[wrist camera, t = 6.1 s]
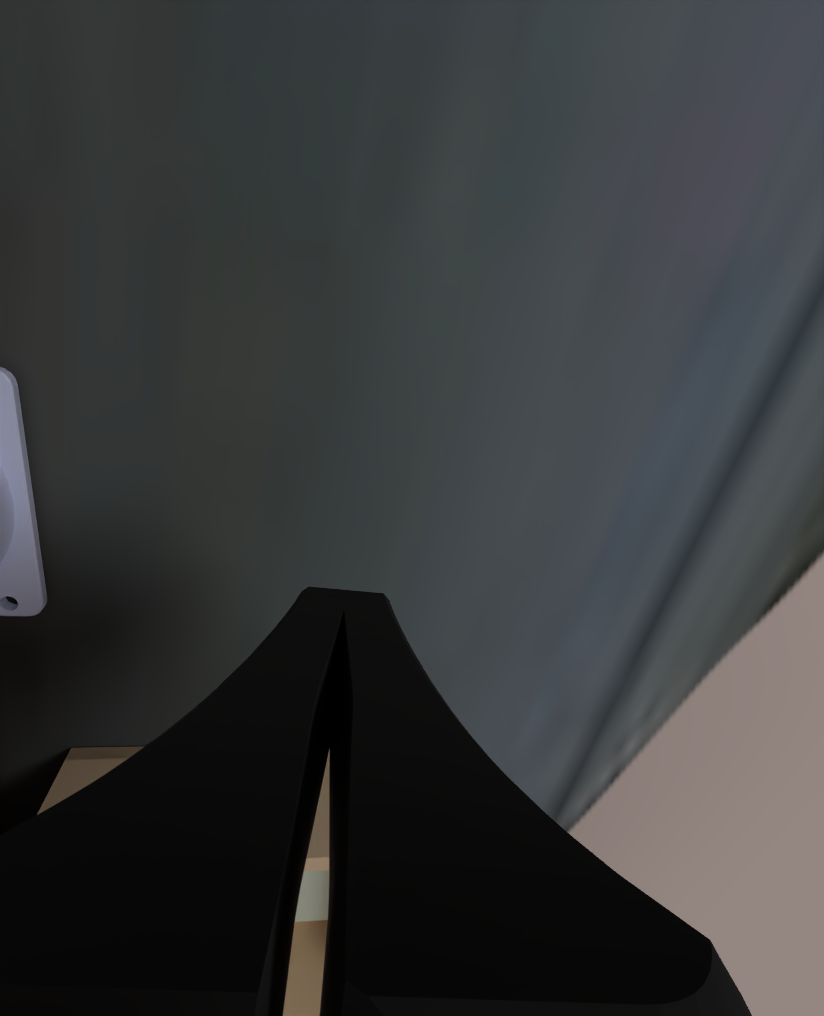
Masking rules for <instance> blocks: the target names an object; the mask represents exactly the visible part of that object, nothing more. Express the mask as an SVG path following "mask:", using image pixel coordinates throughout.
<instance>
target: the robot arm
mask: <svg viewBox="0 0 824 1016" xmlns="http://www.w3.org/2000/svg"><path fill="white" fill-rule="evenodd" d="M6 596H9V597H13V598H14V599H16V600H17V602H18V604H12V603H10V602H9V601H7V599H6ZM46 604H47V593H46V585H45V578H44V571H43V564H42V557H41V549H40V542H39V535H38V528H37V521H36V513H35V506H34V499H33V492H32V485H31V477H30V470H29V463H28V456H27V449H26V441H25V434H24V427H23V420H22V413H21V405H20V398H19V391H18V384H17V382H16V379H15V377H14V376H13V375H12V374H11V372H9V371H8V370H6V369H5V368H2V367H0V616H34V615H37V614H38V613H40V612H41V611H42V609H43V608H44V607H45V605H46ZM329 749H330V760H329V903H328V924H327V935H326V947H325V959H324V970H323V982H322V993H321V1005H320V1016H752V1015H751V1013H750V1011H749V1009H748V1007H747V1005H746V1003H745V1001H744V999H743V997H742V995H741V993H740V992H739V990H738V988H737V987H736V985H735V983H734V981H733V980H732V978H731V976H730V975H729V973H728V971H727V969H726V968H725V966H724V964H723V963H722V961H721V959H720V958H719V955H718V953H717V952H716V950H715V948H714V946H713V944H712V942H711V941H710V940H709V939H708V938H707V937H705V936H704V935H702V934H701V933H700V932H698V931H697V930H695V929H694V928H692V927H691V926H690V925H688V924H687V923H686V922H684V921H683V920H681V919H680V918H679V917H677V916H676V915H675V914H673V913H672V912H670V911H669V910H668V909H666V908H665V907H663V906H662V905H661V904H659V903H658V902H656V901H655V900H654V899H652V898H651V897H649V896H648V895H646V894H645V893H644V892H642V891H641V890H640V889H638V888H637V887H635V886H634V885H633V884H631V883H630V882H628V881H627V880H625V879H624V878H623V877H621V876H620V875H619V874H618V873H616V872H615V871H614V870H612V869H611V868H610V867H609V866H607V865H606V864H605V863H604V862H603V861H601V860H600V859H599V858H598V857H596V856H595V855H594V854H593V853H592V852H590V851H589V850H588V849H587V848H585V847H584V846H583V845H582V844H580V843H579V842H578V841H577V840H576V839H574V838H573V837H572V836H571V835H570V834H568V833H567V832H566V831H565V830H564V829H563V828H562V827H560V826H559V825H558V824H557V823H556V822H555V821H554V820H553V819H551V818H550V817H549V816H548V815H547V814H546V813H545V812H544V811H543V810H542V809H540V808H539V807H538V806H537V805H536V804H535V803H534V802H533V801H532V800H531V799H530V798H529V797H528V796H527V795H526V794H525V793H524V792H523V791H522V790H521V789H520V788H519V787H518V786H517V785H516V784H514V783H513V782H512V781H511V780H510V779H509V778H508V777H507V776H506V775H505V774H504V773H503V772H502V771H501V770H500V768H499V767H498V766H497V765H496V764H495V763H494V762H493V761H492V760H491V759H490V758H489V756H488V755H487V754H486V753H485V752H484V751H483V749H482V748H481V747H480V746H479V745H478V744H477V742H476V741H475V740H474V739H473V738H472V736H471V735H470V734H469V733H468V731H467V730H466V729H465V728H464V726H463V725H462V724H461V723H460V721H459V720H458V719H457V717H456V716H455V715H454V713H453V712H452V711H451V709H450V708H449V706H448V705H447V703H446V702H445V701H444V699H443V698H442V696H441V695H440V694H439V692H438V691H437V689H436V688H435V686H434V685H433V683H432V682H431V680H430V678H429V677H428V675H427V674H426V672H425V670H424V669H423V667H422V665H421V664H420V662H419V660H418V659H417V657H416V655H415V654H414V652H413V650H412V648H411V647H410V645H409V643H408V641H407V639H406V637H405V635H404V633H403V631H402V629H401V627H400V625H399V623H398V621H397V619H396V617H395V614H394V612H393V609H392V607H391V604H390V601H389V600H388V598H387V597H386V596H385V595H384V594H383V593H372V592H361V591H351V590H340V589H329V588H318V587H308V588H306V589H305V590H303V591H302V592H301V593H300V595H299V596H298V598H297V600H296V601H295V603H294V604H293V605H292V607H291V608H290V609H289V611H288V612H287V613H286V615H285V616H284V617H283V619H282V620H281V621H280V622H279V623H278V625H277V626H276V627H275V628H274V630H273V631H272V632H271V633H270V634H269V635H268V636H267V637H266V639H265V640H264V641H263V642H262V643H261V644H260V645H259V646H258V648H257V649H256V650H255V651H254V652H253V653H252V654H251V655H250V656H249V657H248V658H247V659H246V660H245V661H244V662H243V663H242V664H241V665H240V666H239V667H238V668H237V669H236V670H235V671H234V672H233V673H232V674H231V675H230V676H229V677H228V678H227V679H226V680H225V681H224V682H223V683H222V684H221V685H220V686H219V687H218V688H217V689H216V690H214V691H213V692H212V693H211V694H210V695H209V696H208V697H207V698H206V699H204V700H203V701H202V702H201V703H200V704H199V705H197V706H196V707H195V708H194V709H193V710H192V711H190V712H189V713H188V714H187V715H185V716H184V717H183V718H182V719H180V720H179V721H178V722H177V723H175V724H174V725H173V726H172V727H170V728H169V729H168V730H167V731H165V732H164V733H163V734H161V735H160V736H159V737H157V738H156V739H155V740H153V741H152V742H150V743H149V744H148V745H146V746H145V747H143V748H142V749H141V750H139V751H138V752H136V753H135V754H134V755H132V756H131V757H129V758H128V759H127V760H125V761H124V762H122V763H121V764H119V765H118V766H116V767H115V768H114V769H112V770H111V771H109V772H108V773H106V774H105V775H103V776H102V777H100V778H98V779H97V780H95V781H94V782H92V783H91V784H89V785H87V786H86V787H84V788H82V789H81V790H79V791H77V792H76V793H74V794H72V795H71V796H69V797H67V798H66V799H64V800H62V801H61V802H59V803H57V804H55V805H54V806H52V807H50V808H48V809H47V810H45V811H43V812H41V813H39V814H38V815H36V816H34V817H32V818H30V819H29V820H27V821H25V822H23V823H22V824H20V825H18V826H16V827H14V828H13V829H11V830H9V831H7V832H5V833H3V834H1V835H0V1016H283V1011H284V1003H285V994H286V987H287V979H288V971H289V963H290V955H291V947H292V939H293V931H294V923H295V916H296V910H297V904H298V898H299V893H300V887H301V882H302V877H303V872H304V867H305V863H306V858H307V853H308V849H309V844H310V839H311V834H312V830H313V825H314V820H315V815H316V811H317V806H318V801H319V796H320V792H321V787H322V782H323V777H324V773H325V768H326V763H327V758H328V753H329Z"/></svg>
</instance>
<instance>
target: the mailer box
mask: <svg viewBox="0 0 824 1016" xmlns="http://www.w3.org/2000/svg"><path fill="white" fill-rule="evenodd" d="M143 747H145V746H138V747H84V748H71V749H70V751H69V753H68V755H67V757H66V759H65V761H64V763H63V765H62V767H61V769H60V771H59V773H58V775H57V777H56V779H55V780H54V782H53V784H52V786H51V788H50V790H49V792H48V794H47V796H46V798H45V800H44V802H43V804H42V806H41V808H40V810H39V812H38V814H39V813H41V812H43V811H45V810H47V809H48V808H50V807H52V806H54V805H55V804H57V803H59V802H61V801H62V800H64V799H66V798H67V797H69V796H71V795H72V794H74V793H76V792H77V791H79V790H81V789H82V788H84V787H86V786H87V785H89V784H91V783H92V782H94V781H95V780H97V779H98V778H100V777H102V776H103V775H105V774H106V773H108V772H109V771H111V770H112V769H114V768H115V767H116V766H118V765H119V764H121V763H122V762H124V761H125V760H127V759H128V758H129V757H131V756H132V755H134V754H135V753H136V752H138V751H139V750H141V749H142V748H143ZM329 760H330V749H329V753H328V758H327V763H326V768H325V773H324V777H323V782H322V787H321V792H320V796H319V801H318V806H317V811H316V815H315V820H314V825H313V830H312V834H311V839H310V844H309V849H308V853H307V858H306V863H305V867H304V872H303V877H302V882H301V887H300V893H299V898H298V904H297V910H296V916H295V923H294V931H293V939H292V947H291V955H290V963H289V971H288V979H287V987H286V994H285V1003H284V1011H283V1016H320V1005H321V993H322V982H323V970H324V959H325V947H326V935H327V924H328V903H329ZM38 814H37V815H38Z"/></svg>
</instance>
